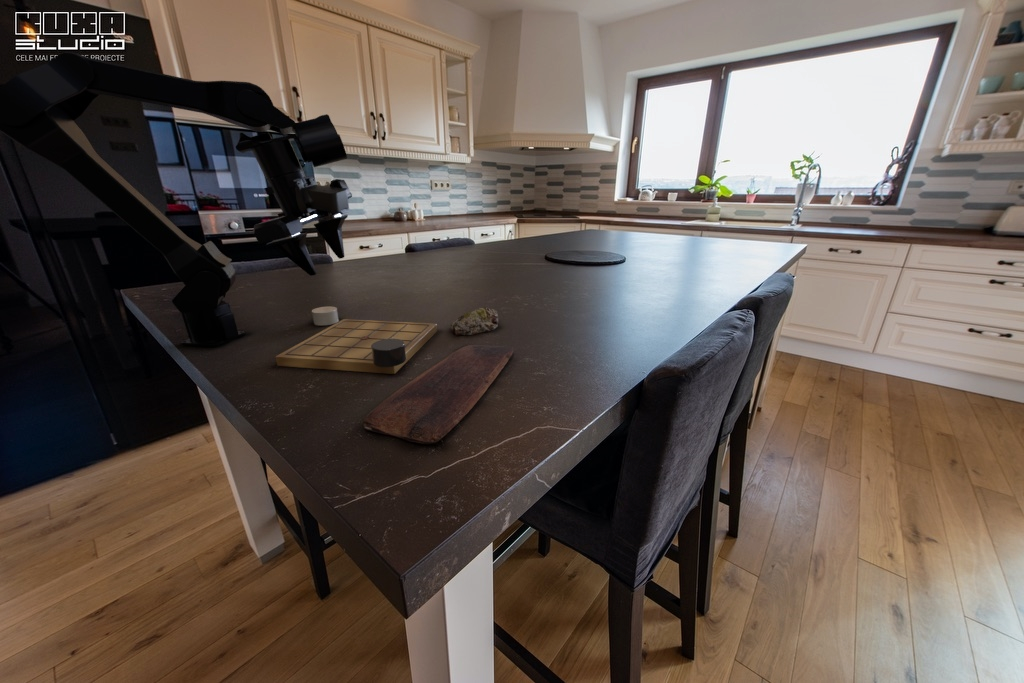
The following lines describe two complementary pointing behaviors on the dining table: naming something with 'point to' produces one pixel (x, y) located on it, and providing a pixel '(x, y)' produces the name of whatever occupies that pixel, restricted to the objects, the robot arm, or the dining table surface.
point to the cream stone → (325, 316)
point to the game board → (355, 345)
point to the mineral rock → (476, 322)
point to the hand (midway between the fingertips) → (328, 266)
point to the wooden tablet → (439, 395)
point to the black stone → (388, 352)
